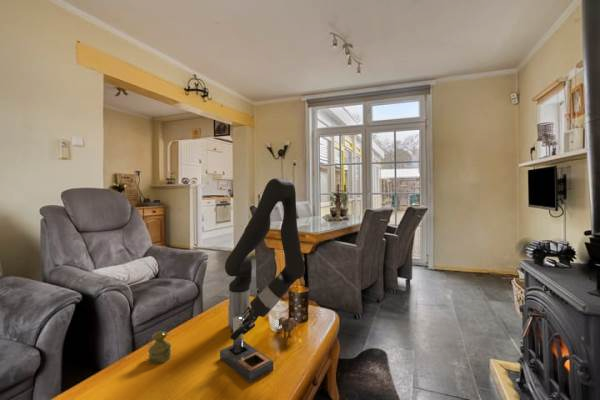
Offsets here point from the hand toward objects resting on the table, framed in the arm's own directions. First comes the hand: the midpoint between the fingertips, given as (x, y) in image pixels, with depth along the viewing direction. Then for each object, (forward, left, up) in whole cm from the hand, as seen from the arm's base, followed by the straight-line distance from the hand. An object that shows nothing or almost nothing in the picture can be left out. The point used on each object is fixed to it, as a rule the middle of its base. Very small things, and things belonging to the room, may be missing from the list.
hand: (232, 335), depth 106 cm
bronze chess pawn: (-19, -19, -9) cm, 28 cm away
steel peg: (+1, +2, -6) cm, 6 cm away
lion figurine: (0, +26, -9) cm, 28 cm away
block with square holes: (+6, +2, -9) cm, 11 cm away
